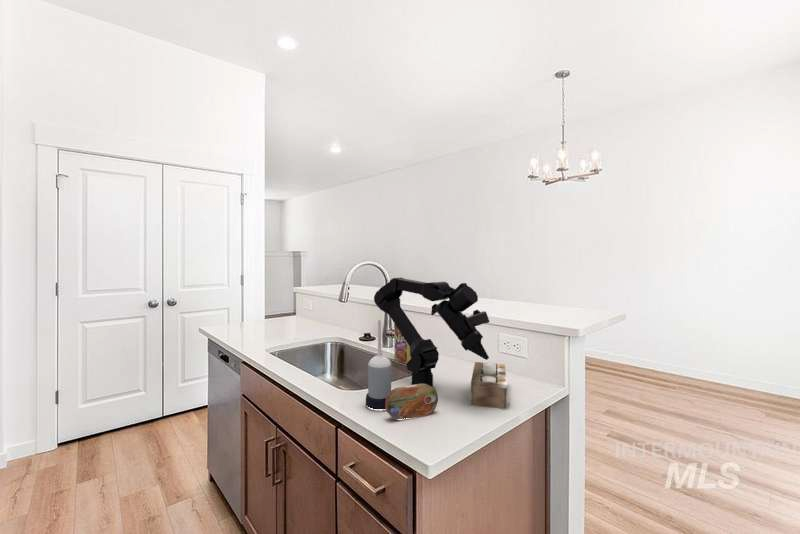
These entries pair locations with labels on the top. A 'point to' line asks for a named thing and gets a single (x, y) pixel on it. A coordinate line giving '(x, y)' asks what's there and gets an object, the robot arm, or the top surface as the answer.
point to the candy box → (401, 347)
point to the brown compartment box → (489, 387)
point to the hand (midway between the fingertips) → (487, 358)
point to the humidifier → (378, 378)
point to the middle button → (489, 368)
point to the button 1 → (488, 379)
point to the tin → (411, 401)
